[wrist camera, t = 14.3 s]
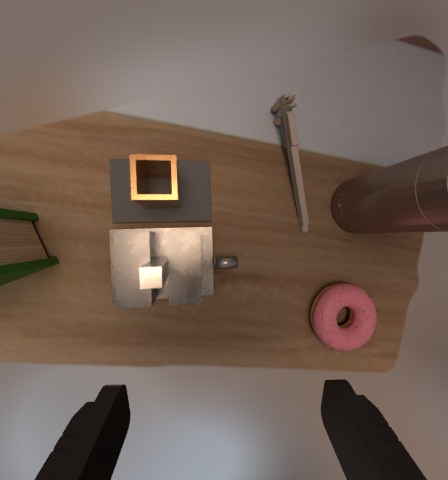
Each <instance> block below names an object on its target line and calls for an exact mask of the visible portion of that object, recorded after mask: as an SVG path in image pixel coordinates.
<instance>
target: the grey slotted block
mask: <svg viewBox="0 0 448 480" xmlns="http://www.w3.org/2000/svg"><path fill="white" fill-rule="evenodd" d="M109 231H110V255H111V279H112V303H114V302H116V309H129V308H142V307H152V306H153V304H154V302H155V300H156V299H169V305H181V304H194V303H202V296H211V295H214V277H213V246H212V227H192V228H152V229H112V230H109ZM214 266H215V269H229V268H238V259H237V256H233V257H215V258H214Z"/></svg>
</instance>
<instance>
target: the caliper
mask: <svg viewBox="0 0 448 480" xmlns="http://www.w3.org/2000/svg"><path fill="white" fill-rule="evenodd" d="M295 96H296V95H292V96H291V93H289V94H284V95H283V96H281V97H280V98H278V99H277V101H276V102H275V104H274V105H273V107H272V109H271V113H275V112H278V111H279V110H281V117H279V118H277V119H275V121H273V123H274V125H280V126H282V130H283V131H282V138H283V142H284V149H285V148H287V154H288V160H289V166H290V172H291V178H292V184H293V190H294V196H295V203H296V209H297V215H298V219H299V223H300V225H301V230H302V233H304V232H308V224H309V220H308V213H307V207H306V200H305V193H304V187H303V180H302V174H301V167H300V161H299V154H298V148H297V145H298V137H297V130H296V123H295V116H294V111H293V112H292V108H293V107H295V106H297V104H295V103H292V102H293V101H294V99H295Z"/></svg>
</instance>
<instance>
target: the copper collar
mask: <svg viewBox="0 0 448 480" xmlns="http://www.w3.org/2000/svg"><path fill="white" fill-rule="evenodd" d="M130 178H131V200H132V201H134V202H135V203H137V204H139V205H140V206H142V207H143V208H145V209H166V208H180V186H179V171H178V164H177V157H176V155H145V154H130ZM148 178H172V194H149V182H148Z"/></svg>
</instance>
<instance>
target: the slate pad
mask: <svg viewBox="0 0 448 480" xmlns="http://www.w3.org/2000/svg"><path fill="white" fill-rule="evenodd" d="M177 164H178V171H179V186H180V208H166V209H145V208H143V207H142V206H140V205H139V204H137V203H135V202H134V201H132V200H131V178H130V159H110V173H111V198H112V222H113V223H141V222H189V221H211V213H210V182H209V161H182V160H177ZM148 182H149V194H172V178H148Z"/></svg>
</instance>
